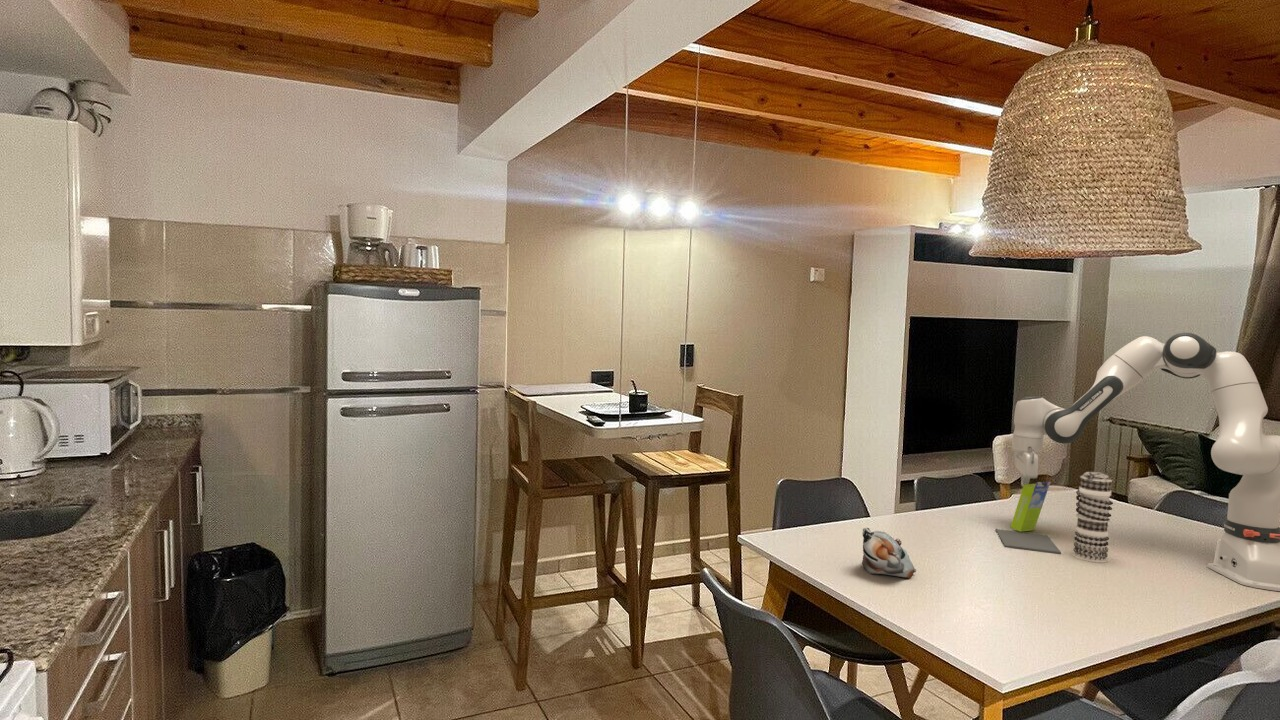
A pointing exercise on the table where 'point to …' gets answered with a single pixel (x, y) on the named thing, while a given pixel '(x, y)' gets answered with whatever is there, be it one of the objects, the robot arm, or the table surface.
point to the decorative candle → (1093, 517)
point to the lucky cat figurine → (885, 555)
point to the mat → (1027, 541)
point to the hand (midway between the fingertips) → (1024, 486)
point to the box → (1029, 506)
